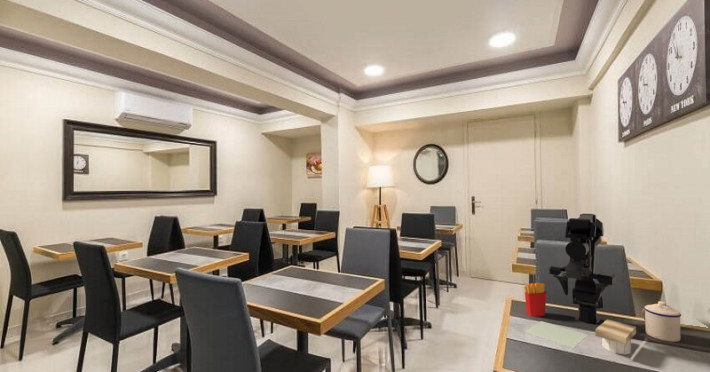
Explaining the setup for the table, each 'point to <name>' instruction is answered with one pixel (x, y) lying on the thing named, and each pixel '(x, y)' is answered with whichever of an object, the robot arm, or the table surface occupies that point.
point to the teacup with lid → (662, 322)
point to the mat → (556, 334)
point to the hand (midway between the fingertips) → (581, 298)
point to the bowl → (616, 346)
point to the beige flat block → (615, 331)
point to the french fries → (535, 299)
